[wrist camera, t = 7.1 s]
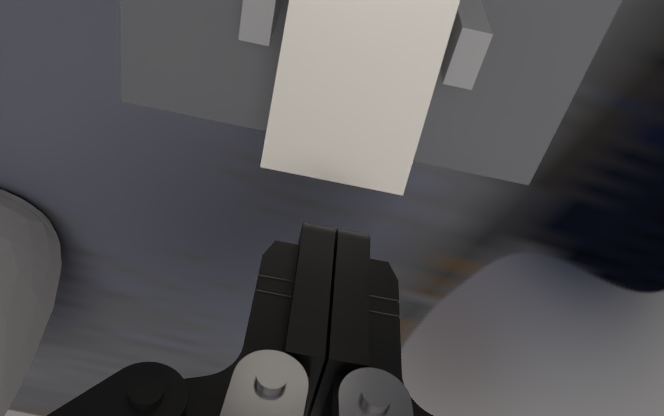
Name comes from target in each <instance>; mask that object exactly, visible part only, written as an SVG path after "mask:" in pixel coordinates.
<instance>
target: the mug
mask: <svg viewBox="0 0 664 416" xmlns="http://www.w3.org/2000/svg"><path fill="white" fill-rule="evenodd" d="M61 266H62V260H61V248H60V242H59V239H58V236H57V234H56V232H55V230H54V228H53V226H52V224H51V222H50V220H49V219H48V218H47V217H46V216H45V215H44V214H43V213H42V212H41V211H39V210H38V209H37V208H35V207H34V206H33V205H31V204H30V203H28V202H27V201H25V200H23V199H21V198H20V197H17V196H15V195H13V194H11V193H9V192H6V191H4V190H1V189H0V416H4V415H5V414H6V412H7V410H8V408H9V406H10V405H11V403H12V401H13V399H14V398H15V396H16V394H17V392H18V390H19V388H20V386H21V384H22V382H23V380H24V379H25V377H26V375H27V373H28V371H29V369H30V367H31V364H32V362H33V359H34V357H35V354H36V351H37V349H38V346H39V344H40V341H41V339H42V336H43V333H44V331H45V328H46V326H47V323H48V321H49V318H50V316H51V313H52V310H53V308H54V303H55V298H56V293H57V288H58V283H59V278H60V273H61Z"/></svg>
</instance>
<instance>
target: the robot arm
mask: <svg viewBox="0 0 664 416" xmlns="http://www.w3.org/2000/svg"><path fill="white" fill-rule="evenodd" d="M398 301H399V290H398V279H397V278H396V276H395V274H394V272H393V270H392V268H391V266H390V264H389V262H385V261H380V260H374V259H370V236H369V235H367V234H362V233H356V232H351V231H346V230H341V229H337V231H336V233H335V228H330V227H325V226H320V225H315V224H310V223H305V222H303V225H302V229H301V233H300V237H299V241H298V245H296V244H290V243H285V242H280V241H275V242H274V243H273V244H272V245H271V246H270V248H269V249H268V250H267V251H266V252H265V253H264V254H263V256H262V261H261V266H260V270H259V275H258V280H257V284H256V289H255V294H254V299H253V303H252V308H251V313H250V317H249V322H248V327H247V331H246V336H245V341H244V346H243V349H242V352H241V354H240V355H239V357H238V358H237V360H236V361H235V362H234V363H233V364H232V365H231V366H229V367H228V368H226V369H225V370H223V371H221V372H219V373H216V374H213V375H209V376H203V377H195V378H186V379H183V378H182V376H181V375H180V374H179V373H178V372H177V371H176V370H174V369H173V368H171V367H169V366H167V365H164V364H161V363H157V362H141V363H136V364H133V365H130V366H127V367H125V368H123V369H121V370H120V371H118V372H117V373H115V374H113V375H112V376H110V377H109V378H107V379H105V380H104V381H102V382H100V383H99V384H97V385H96V386H94V387H92V388H91V389H89V390H87V391H86V392H84V393H83V394H81V395H79V396H78V397H76V398H75V399H73V400H71V401H70V402H68V403H66V404H65V405H63V406H62V407H60V408H58V409H57V410H55V411H53V412H52V413H50V414H49V415H47V416H433V415H431V414H429V413H427V412H426V411H424V410H423V409H422V408H421V407H419V406H418V405H417V404H416V403H415V402H414V400H413V399H412V398H411V397H410V395H409V392H408V391H407V389H406V387H405V386H404V383H403V380H402V369H401V343H400V319H399V303H398Z"/></svg>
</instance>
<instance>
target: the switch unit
mask: <svg viewBox="0 0 664 416" xmlns="http://www.w3.org/2000/svg"><path fill="white" fill-rule="evenodd" d="M621 2H622V0H460V3H459V6H458V9H457V13H456V16H455V20H454V23H453V26H452V30H451V33H450V37H449V40H448V44H447V47H446V50H445V54H444V57H443V61H442V64H441V67H440V71H439V74H438V78H437V81H436V84H435V88H434V91H433V95H432V98H431V101H430V105H429V108H428V112H427V115H426V119H425V122H424V125H423V129H422V132H421V136H420V139H419V142H418V146H417V149H416V153H415V156H414V159H413V162H418V163H422V164H427V165H432V166H437V167H442V168H447V169H452V170H457V171H462V172H467V173H471V174H476V175H481V176H486V177H491V178H496V179H501V180H506V181H511V182H516V183H521V184H525V185H529V184H530V182H531V180H532V178H533V176H534V174H535V172H536V170H537V168H538V166H539V164H540V162H541V160H542V158H543V156H544V154H545V152H546V150H547V148H548V146H549V144H550V142H551V140H552V138H553V136H554V134H555V132H556V130H557V128H558V126H559V124H560V122H561V120H562V118H563V116H564V114H565V113H566V111H567V109H568V107H569V105H570V103H571V101H572V99H573V97H574V95H575V93H576V91H577V89H578V87H579V85H580V83H581V81H582V79H583V77H584V75H585V73H586V71H587V69H588V67H589V65H590V63H591V61H592V59H593V57H594V55H595V53H596V51H597V49H598V47H599V45H600V43H601V41H602V39H603V37H604V36H605V34H606V32H607V30H608V28H609V26H610V24H611V22H612V20H613V18H614V16H615V14H616V12H617V10H618V8H619V6H620V4H621ZM288 4H289V0H120V41H121V102H123V103H128V104H133V105H138V106H143V107H148V108H153V109H158V110H162V111H167V112H172V113H177V114H182V115H187V116H192V117H197V118H202V119H207V120H211V121H216V122H221V123H226V124H231V125H236V126H241V127H246V128H251V129H256V130H261V131H265V132H266V130H267V125H268V119H269V113H270V107H271V102H272V96H273V90H274V84H275V79H276V73H277V67H278V61H279V56H280V50H281V44H282V39H283V33H284V27H285V21H286V16H287V10H288Z"/></svg>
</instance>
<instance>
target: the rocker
mask: <svg viewBox="0 0 664 416" xmlns="http://www.w3.org/2000/svg"><path fill="white" fill-rule="evenodd" d="M459 3H460V0H289V4H288V10H287V16H286V21H285V27H284V33H283V39H282V44H281V50H280V56H279V61H278V67H277V73H276V79H275V84H274V90H273V96H272V102H271V107H270V113H269V119H268V125H267V130H266V136H265V142H264V148H263V153H262V159H261V165H260V167H262V168H267V169H272V170H277V171H282V172H287V173H292V174H297V175H302V176H307V177H312V178H317V179H322V180H327V181H332V182H337V183H342V184H347V185H353V186H358V187H363V188H368V189H373V190H378V191H383V192H388V193H393V194H398V195H403V194H404V190H405V187H406V183H407V180H408V177H409V173H410V170H411V166H412V163H413V159H414V156H415V153H416V149H417V146H418V142H419V139H420V136H421V132H422V129H423V125H424V122H425V119H426V115H427V112H428V108H429V105H430V101H431V98H432V95H433V91H434V88H435V84H436V81H437V78H438V74H439V71H440V67H441V64H442V61H443V57H444V54H445V50H446V47H447V44H448V40H449V37H450V33H451V30H452V26H453V23H454V20H455V16H456V13H457V9H458V6H459Z"/></svg>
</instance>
